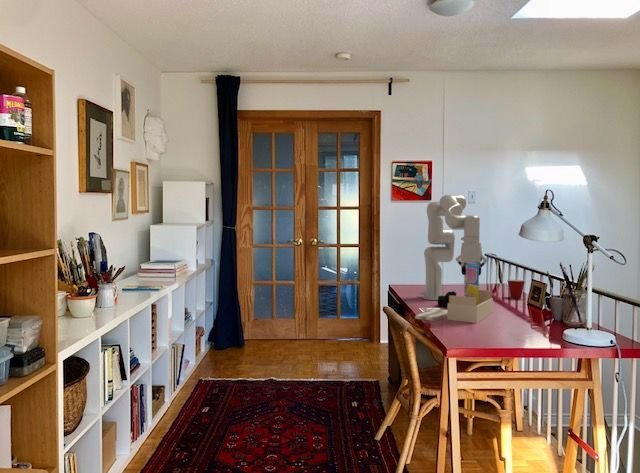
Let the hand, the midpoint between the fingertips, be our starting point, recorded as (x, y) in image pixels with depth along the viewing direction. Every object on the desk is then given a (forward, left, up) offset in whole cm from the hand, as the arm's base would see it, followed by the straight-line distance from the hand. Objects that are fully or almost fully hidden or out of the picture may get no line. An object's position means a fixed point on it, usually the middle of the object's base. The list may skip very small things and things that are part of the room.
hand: (471, 274), depth 262 cm
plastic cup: (+7, +70, -22) cm, 74 cm away
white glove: (-16, -9, -21) cm, 28 cm away
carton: (0, 0, -21) cm, 21 cm away
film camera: (-19, +20, -22) cm, 35 cm away
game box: (0, 0, -22) cm, 22 cm away
